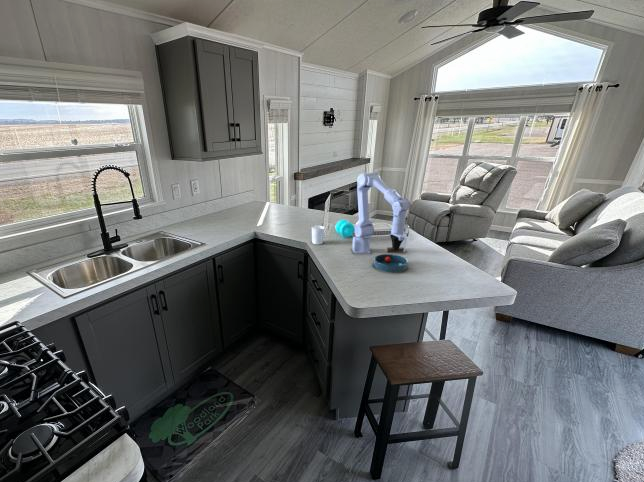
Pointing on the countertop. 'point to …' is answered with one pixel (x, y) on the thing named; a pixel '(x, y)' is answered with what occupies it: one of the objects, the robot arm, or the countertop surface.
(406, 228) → the beer glass
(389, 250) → the paddle
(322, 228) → the white cup
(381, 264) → the bowl
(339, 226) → the donuts
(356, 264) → the countertop surface
